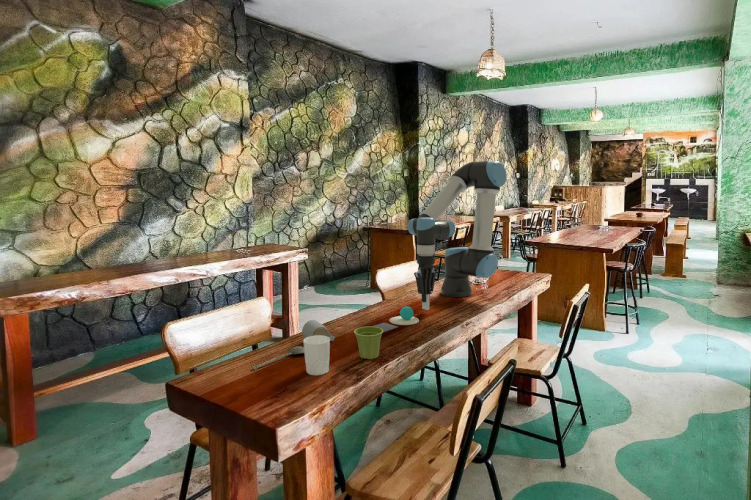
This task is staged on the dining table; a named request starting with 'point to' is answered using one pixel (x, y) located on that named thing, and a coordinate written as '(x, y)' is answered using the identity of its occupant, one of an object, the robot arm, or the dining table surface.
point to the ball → (406, 313)
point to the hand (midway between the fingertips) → (425, 308)
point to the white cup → (317, 354)
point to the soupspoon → (292, 351)
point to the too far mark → (385, 326)
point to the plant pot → (368, 341)
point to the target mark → (401, 321)
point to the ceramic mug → (315, 330)
